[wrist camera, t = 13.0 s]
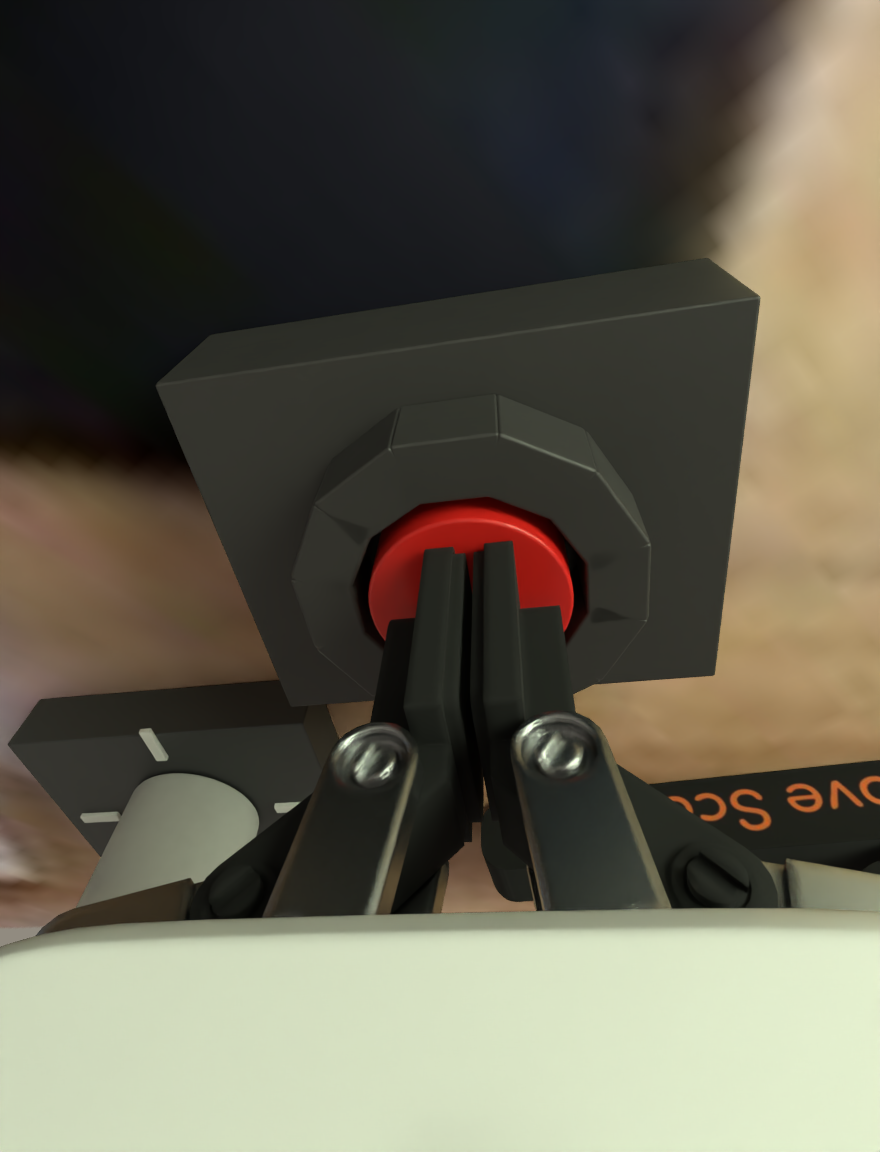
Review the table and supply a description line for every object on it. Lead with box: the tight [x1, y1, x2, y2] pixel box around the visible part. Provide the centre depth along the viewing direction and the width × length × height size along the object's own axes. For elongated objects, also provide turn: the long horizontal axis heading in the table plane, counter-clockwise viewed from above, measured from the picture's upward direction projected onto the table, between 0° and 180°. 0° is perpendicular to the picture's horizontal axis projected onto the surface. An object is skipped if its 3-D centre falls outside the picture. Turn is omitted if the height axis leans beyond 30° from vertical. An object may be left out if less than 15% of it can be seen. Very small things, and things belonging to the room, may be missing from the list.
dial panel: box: [8, 680, 339, 857], centre depth 24 cm, size 10×9×2 cm
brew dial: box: [76, 773, 259, 908], centre depth 20 cm, size 4×4×6 cm
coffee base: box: [156, 258, 760, 707], centre depth 15 cm, size 11×9×5 cm
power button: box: [368, 497, 574, 640], centre depth 13 cm, size 4×4×2 cm
